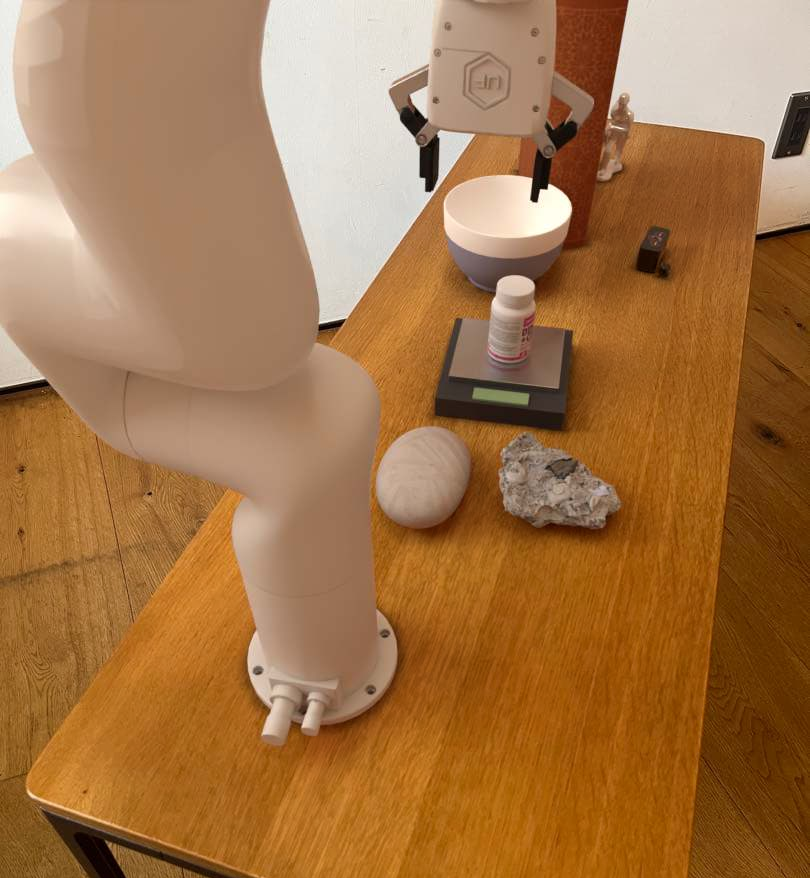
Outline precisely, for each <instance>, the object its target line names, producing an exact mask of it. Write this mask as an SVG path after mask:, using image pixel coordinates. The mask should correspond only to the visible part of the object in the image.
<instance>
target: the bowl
mask: <svg viewBox="0 0 810 878" xmlns="http://www.w3.org/2000/svg"><path fill="white" fill-rule="evenodd" d="M531 187H532V178H528V177H523V176H518V175H514V174H513V175H512V174H495V175H487V176H485V175H484V176H480V177H475V178H472V179H468V180H466V181H464V182H462V183H459V184H457V185H456V186H455V187H453V188H452V189H451V190H450V191H449V192H448V193H447V194H446V196H445V198H444V201H443V228H444V232H445V238H446V244H447V248H448V250H449V253H450V255H451V256H452V257H451V258H453V261H454V262H455V264H456V266H457V267H458V269H459V270H460V271H461V272H462V273H463V274H464V275H465V276H466V277H467V279H468V281H470V283H471V284H473V285H474V286H475V287H477V288H479V289H480V290H483V291H487V292H490V293H496V290H497V283H498V281H499V280H500V279H502V278H504V277H506V276H511V275H518V276H523V277H526V278H529V279H530V280H531V281H533V282H535V280H538V279H539V278H540V277H542V276H543V275H544V274H546V273H547V271H548V270H549V269H550V267H551V266H552V265H553V264H554V262H555V261H556V260H557V259H558V257H559V255H560V253H561V251H562V250H563V249H562V246H563V243H564V240H565V238H566V236H567V232H568V227H569V223H570V218H571V214H572V206H571V202H570V200H569V199H568V197H567V196H566V195H565V194H564V193H563V192H562V191H561V190H559V189H558V188H556V187H554V186H553V185H550V184H548V190H543V189H540V194H539V198H538V203H534V202H532V201H530V195H531Z"/></svg>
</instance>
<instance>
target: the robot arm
mask: <svg viewBox="0 0 810 878" xmlns="http://www.w3.org/2000/svg"><path fill="white" fill-rule="evenodd" d="M271 1H272V0H22V1H21V5H20V10H19V15H18V19H17V24H16V30H15V37H14V40H13V41H14V42H13V50H12V51H13V52H12V79H13V91H14V98H15V104H16V110H17V113H18V116H19V121H20V124H21V127H22V129H23V131H24V134H25V137H26V139H27V141H28V143H29V145H30V147H31V149H32V153H30V154H26V155H24V156H22V157H20V158H18V159H16V160H14V161H12V162H11V163H9V164H8V165H6V166H5V168H3V170H1V171H0V326H1V328H2V329H3V330H4V332H5V333H6V335H7V337H9V338H10V340H11V341H12V342H13V344H14V345H15V346H16V347H17V348H18V350H19V351H20V352H21V353H22V354H23V355H24V357H25V358H27V360H28V361H29V362H30V364H32V366H33V367H34V368H35V369H36V370H37V372H38V373H39V374H40V375H41V376H42V377H43V378H44V379H45V380H46V382H47V383H48V384H49V385H50V386H51V387H52V388H53V390H55V391H56V393H57V394H58V395H59V396H60V397H61V398H62V400H63V401H64V402H65V403H66V404H67V405H68V406H69V407H70V408H71V409H72V410H73V412H74V413H75V414H76V415H77V416H78V417H79V418H80V419H81V420H82V422H83V423H84V424H85V425H86V426H87V427H88V429H90V430H91V431H92V432H93V433H94V434H95V435H96V437H98V438H99V439H100V440H101V441H103V442H104V443H105V444H106V445H108V446H109V447H111V448H112V449H114V450H115V451H117V452H119V453H121V454H123V455H124V456H127V457H130V458H131V459H134V460H137V461H141V462H143V463H147V464H150V465H153V466H156V467H159V468H164V469H167V470H170V471H174V472H177V473H180V474H183V475H186V476H190V477H193V478H197V479H200V480H203V481H205V482H207V483H209V484H212V485H215V486H219V487H222V488H226V489H228V490H231V491H234V492H236V493H238V494H239V495H242V498H241V500H240V501H239V503H238V504H237V506H236V509H235V512H234V514H233V518H232V522H231V529H230V530H231V543H232V548H233V552H234V555H235V556H234V557H235V559H236V562H237V565H238V568H239V571H240V575H241V579H242V582H243V585H244V588H245V592H246V596H247V601H248V603H249V604H248V605H249V608H250V611H251V615H252V617H253V621H254V626H255V629H256V630H255V631H254V633H253V635H252V637H251V641H250V643H249V646H248V651H247V658H246V659H247V661H246V662H247V671H248V676H249V679H250V682H251V685H252V687H253V689H254V692H255V694H256V695H257V697H258V699H260V700H261V702H262V703H263V704H264V706H266V707H267V708H268V709H270V712H269V714H268V715H267V717H266V719H265V723H264V724H263V728H262V731H261V734H260V740H261V741H262V742H263V743H264V744H266V745H269V746H272V747H283V746H285V745H286V741H287V739H288V734H289V732H290V729H291V726H292V723H293V722H294V723H297V724H300V725H301V727H300V732H301V733H302V734H303V735H305V736H308V737H317V736H318V734H319V731H320V729H321V728H320V727H321V726H330V725H335V724H340V723H343V722H346V721H349V720H351V719H354V718H356V717H358V716H360V715H362V714H363V713H365V712H367V711H368V710H369V709H371V708H372V707H373V706H374V705H376V703H378V701H380V700H381V699H382V697H383V696H384V695H385V693H386V692H387V691H388V690H389V688H390V686H391V684H392V681H393V679H394V678H395V675H396V670H397V666H398V644H397V638H396V635H395V632H394V630H393V629H394V628H393V627H392V625H391V624H390V621H389V620H388V619H387V617H386V616H385V615H384V614H383V613H382V612H381V611H380V610H379V609H378V608H377V597H376V595H377V594H376V582H375V579H376V578H375V563H374V552H373V551H374V548H373V536H372V533H373V532H372V517H371V489H372V479H373V471H374V464H375V458H376V454H377V453H376V452H377V446H378V441H379V436H380V430H381V420H382V419H381V418H382V406H381V405H382V403H381V396H380V392H379V389H378V387H377V384H376V382H375V380H374V378H373V376H372V375H371V374H370V372H368V370H367V369H366V368H365V367H364V366H362V365H361V363H359V362H358V361H356V359H354V358H353V357H351V356H349V355H347V354H345V353H343V352H341V351H340V350H338V349H335V348H333V347H329V346H327V345H325V344H322V343H319V342H316V341H317V338H318V334H319V326H320V310H321V309H320V298H319V292H318V287H317V286H318V285H317V281H316V277H315V272H314V267H313V264H312V259H311V257H310V252H309V249H308V246H307V243H306V240H305V236H304V233H303V230H302V227H301V222H300V219H299V217H298V212H297V210H296V205H295V203H294V199H293V196H292V193H291V189H290V187H289V183H288V179H287V176H286V172H285V170H284V166H283V163H282V160H281V157H280V153H279V149H278V146H277V143H276V139H275V135H274V132H273V128H272V124H271V121H270V117H269V113H268V109H267V104H266V98H265V94H264V88H263V75H262V59H263V49H264V41H265V40H264V39H265V30H266V23H267V19H268V13H269V10H270V4H271ZM429 48H430V49H429V59H428V63H427V64H426V65H423V66H422V67H419V68H417V69H416V70H414V71H411V72H410V73H408V74H406V75H404V76H402V77H400V78H397V79H395V80H394V81H393V82H392V83H391V85H390V87H389V88H388V95H389V97H390V99H391V102H392V104H393V106H394V108H395V110H396V112H397V113H398V115H399V121H400V123H401V124H402V125H403V126H404V128H405V129H407V131H408V132H409V133H410V135H412V137H413V138H414V141H415V144H416V145H417V146H418V147H419V157H418V158H419V162H418V165H419V168H418V170H419V171H418V172H419V173H418V177H419V179H424V192H425V193H432V192H434V191H435V188H436V185H437V183H438V180H439V174H440V144H441V143H440V141H441V139H440V137H439V134H438V133H440V131H444V132H450V133H458V134H470V135H479V136H491V137H505V138H517V139H519V138H520V139H521V138H527V137H531V138H532V139H533V141H534V142H535V144H536V145H537V147H538V148H537V152H536V156H535V162H534V170H533V178H532V187H531V195H530V201H532V202H534V203H538V198H539V194H540V189H543V190H548V184H549V178H550V171H551V163H552V157H553V156H554V155H555V153H556V152H557V151H558V150H559V149H560V148H562V147H563V146H564V145H565V144H566V143H568V142H569V141H570V140H571V139H573V138H574V137H575V136H576V134H577V131H578V130H579V129H580V127H581V126H582V125H583V123H584V122H585V120H586V119H587V117H588V116H589V114H590V113H591V112H592V110H593V105H594V99H593V97H592V96H590V95H589V94H587V93H586V92H584V91H583V90H582V89H580V88H579V87H577V86H576V85H574V84H573V83H571V82H570V81H569V80H567V79H566V78H564V77H563V76H561V75H560V74H559V73H557V72H556V71H554V63H555V48H556V0H436V2H435V6H434V14H433V20H432V27H431V38H430V46H429ZM426 87H427V89H426V90H427V91H426V117H425V116H424V115H423V113H422V112H421V111H420V110H419V109H418V107H417V106H416V105H415V104H414V103H413V101H412V97H411V95H412V94H414V93H415V92H418V91H419V90H422V89H424V88H426ZM551 94H552V95H553V96H555V97H556V98H557V99H559V100H560V101H562V102H563V103H565V104H566V105H568V106H569V107H570V108H571V109H572V112H571V113H570V115H569V117H568V118H567V119H566V120H564V121H563V122H562V123H561V124H560V125H558V126H557V127H556V128H555V129H554V127H553V126H552V124H551V123H550V121H549V120H548V118H547V117H548V112H549V106H550V100H551Z"/></svg>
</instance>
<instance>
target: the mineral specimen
mask: <svg viewBox="0 0 810 878" xmlns="http://www.w3.org/2000/svg"><path fill="white" fill-rule="evenodd" d="M499 453H500V458H502V465H503V466H502V467H501V468H500V469H498V470H497V471H498V476H499V480H498V484H499V489H500V493H502V496H503V497H502V499H503V501H502V504H503V507H504V511H505V512H507V513H509V514H511V516H512V515H513V516H514V517H518V518H519V517H520V518H521V519H522V520H526V522H527V523H530V524H531V526H533V527H534V528H542V527H545V526H547V525H548V524H551V523H552V524H554V525H555V524H556V525H558V526H563V525H564V526H571V527H578V526H582V527H583V528H589V529H590V530H593V529H594V530H598V529H603V528H604V527H605V526H606V525H607V522H606V521H607V519H606V516H609V515H612V514H613V513H614V512H616V511H619V510H620V509H622V504H623V503H622V501H621V500H620V498H619V496H618V494H617V491H616V489H615V486H614V485H613V484H609V483H607V482H605V480H602V478H601V477H596V476H594V474H593V472H592V471H591V470H590V468H589V467H588V466H586V465H585V463H584V462H582V461H581V460H578V459H576V458H575V459H574V458H573V456H572V455H570V454H569V452H568V451H566V450H563V449H559V448H558V449H557V448H554V447H545V445H544V444H543V443H542V442H540V441H538V439H537V437H536V436H535V435H534V434H533V433H531V432H528V431H524V432H523V434H522V433H521V434H519V435H515V438H514V439H512V440H511V442H508V444H507V445H506V446H505V447H504V448H502V451H500V452H499Z"/></svg>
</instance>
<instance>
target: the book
mask: <svg viewBox="0 0 810 878" xmlns="http://www.w3.org/2000/svg"><path fill="white" fill-rule="evenodd" d="M629 1H630V0H556V48H555V63H554V71H556V72H557V73H559V74H560V75H561V76H563V77H564V78H566V79H567V80H569V81H570V82H571V83H573V84H574V85H576V86H577V87H579V88H580V89H582V90H583V91H584V92H586V93H587V94H589V95H590V96H592V97H593V99H594V105H593V110H592V112H591V113H590V114H589V116H588V117H587V119H586V120H585V122H584V123H583V125H582V126H581V127H580V129H579V130H578V131H577V134H576V136H575V137H574V138H573V139H571V140H570V141H569V142H568V143H566V144H565V145H564V146H563V147H562V148H560V149H559V150H558V151H557V152H556V153H555V155H554V156H553V157H552V163H551V171H550V178H549V184H550V185H553V186H554V187H556V188H558V189H559V190H561V191H562V192H563V193H564V194H565V195H566V196H567V197H568V199H569V200H570V202H571V206H572V214H571V218H570V223H569V227H568V232H567V236H566V238H565V240H564V243H563V246H562V249H561V250H567V249H575V248H579V247H584V246H586V241H587V235H588V231H589V230H588V229H589V224H590V218H591V213H592V207H593V203H594V195H595V190H596V184H597V174H598V171H599V168H600V162H601V158H602V153H603V152H602V151H603V148H602V146H603V141H604V135H605V130H606V126H607V125H608V118H609V113H610V106H611V102H612V97H613V89H614V84H615V80H616V74H617V69H618V63H619V57H620V52H621V46H622V40H623V34H624V29H625V25H626V24H625V23H626V18H627V12H628V7H629ZM571 112H572V109H571V108H570V107H569V106H568V105H566V104H565V103H563V102H562V101H560V100H559V99H557V98H556V97H555V96H553V95H552V94H551V100H550V106H549V112H548V117H547V118H548V120H549V121H550V123H551V124H552V126H553V127H554V129H555V128H556V127H557V126H558V125H560V124H561V123H562V122H563V121H564V120H566V119H567V118H568V117H569V115H570V113H571ZM537 148H538V147H537V145H536V144H535V142H534V141H533V139H532V138H531V137H527V138H520V147H519V155H518V157H519V158H518V167H517V176H523V177H528V178H533V170H534V162H535V156H536V152H537Z"/></svg>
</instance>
